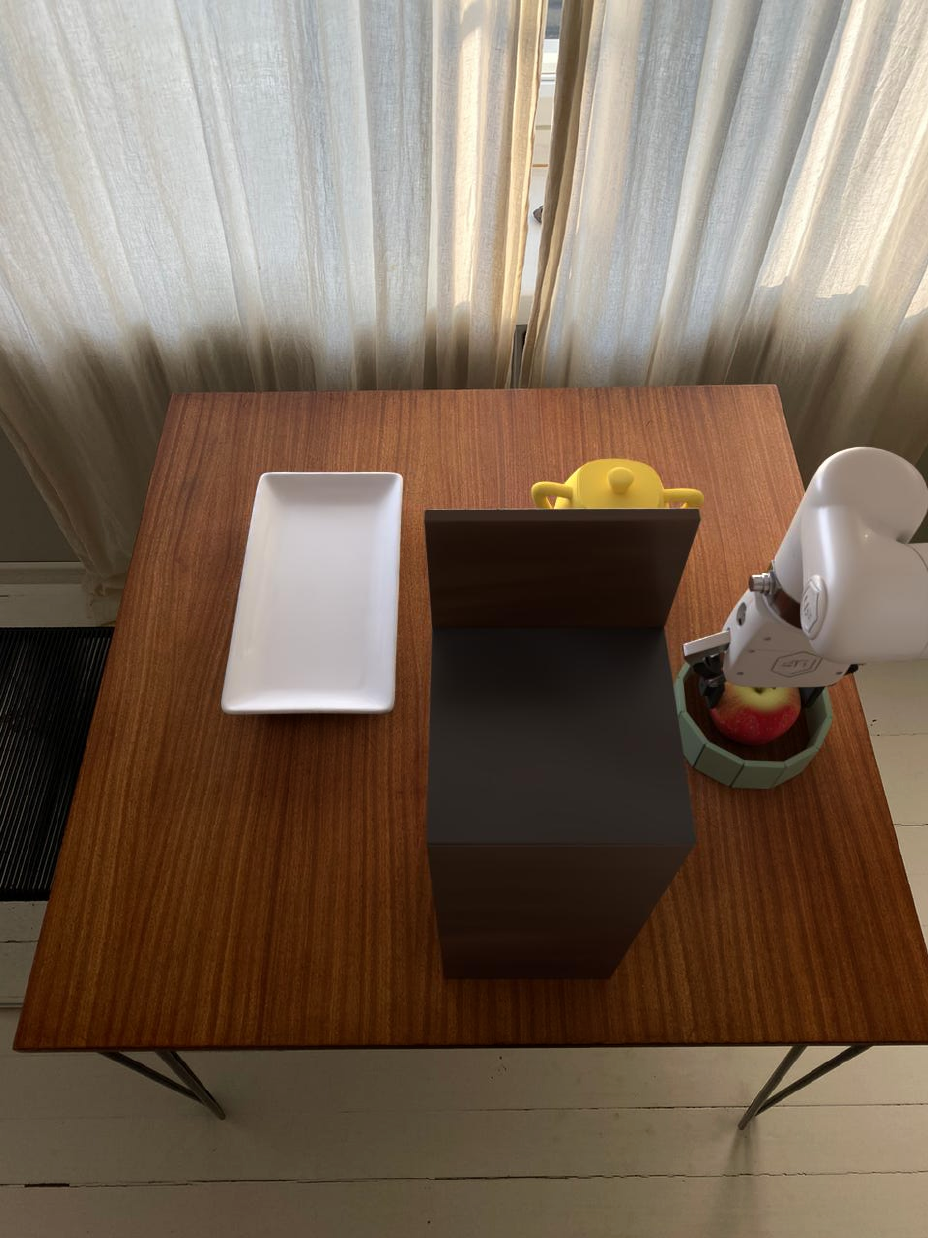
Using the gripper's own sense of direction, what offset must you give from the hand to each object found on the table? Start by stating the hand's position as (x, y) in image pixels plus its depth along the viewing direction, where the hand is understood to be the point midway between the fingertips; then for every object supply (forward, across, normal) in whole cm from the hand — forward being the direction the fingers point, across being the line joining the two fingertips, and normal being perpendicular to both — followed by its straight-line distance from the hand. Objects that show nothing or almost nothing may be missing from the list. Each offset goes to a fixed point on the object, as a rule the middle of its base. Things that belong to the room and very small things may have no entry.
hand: (755, 694), depth 82 cm
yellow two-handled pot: (+6, -12, +20) cm, 24 cm away
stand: (+6, -22, -17) cm, 28 cm away
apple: (+6, 0, 0) cm, 6 cm away
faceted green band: (+6, 0, 0) cm, 6 cm away
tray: (+6, -43, +15) cm, 46 cm away
